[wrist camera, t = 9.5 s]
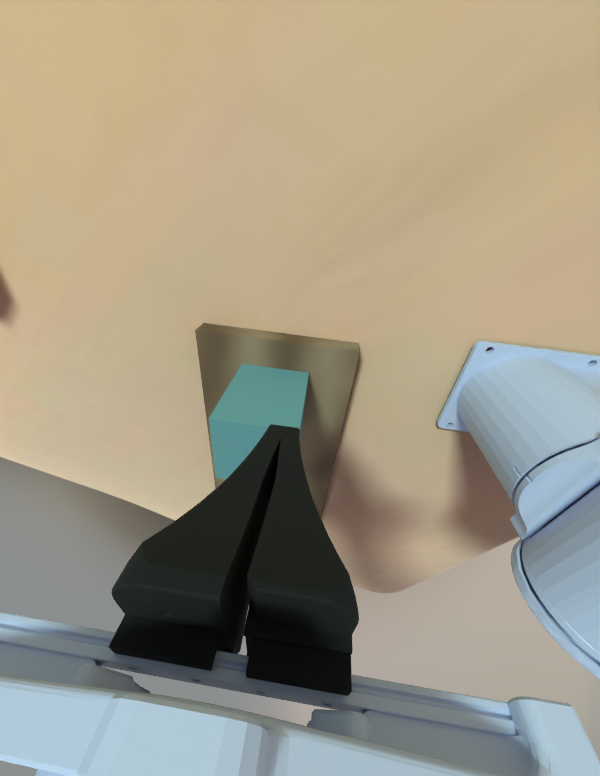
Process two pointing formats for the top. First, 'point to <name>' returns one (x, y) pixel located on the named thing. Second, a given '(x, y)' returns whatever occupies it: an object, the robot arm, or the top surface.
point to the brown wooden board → (297, 353)
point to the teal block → (254, 412)
